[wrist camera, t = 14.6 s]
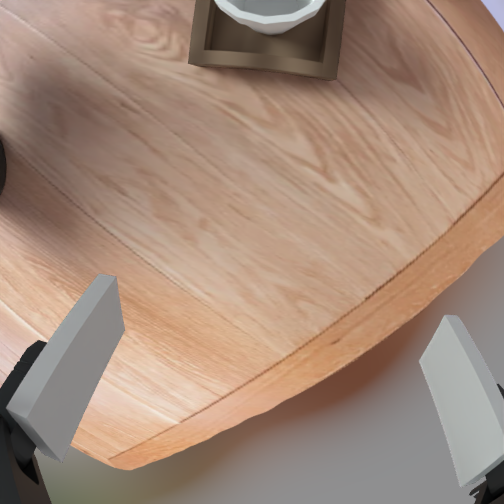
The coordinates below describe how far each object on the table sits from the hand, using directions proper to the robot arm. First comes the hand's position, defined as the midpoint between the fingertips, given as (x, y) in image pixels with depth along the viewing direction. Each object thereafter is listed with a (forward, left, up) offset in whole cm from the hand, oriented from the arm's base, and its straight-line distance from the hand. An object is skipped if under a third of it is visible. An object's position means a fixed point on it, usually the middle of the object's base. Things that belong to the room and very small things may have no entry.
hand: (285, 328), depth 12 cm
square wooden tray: (-3, +18, -29) cm, 34 cm away
